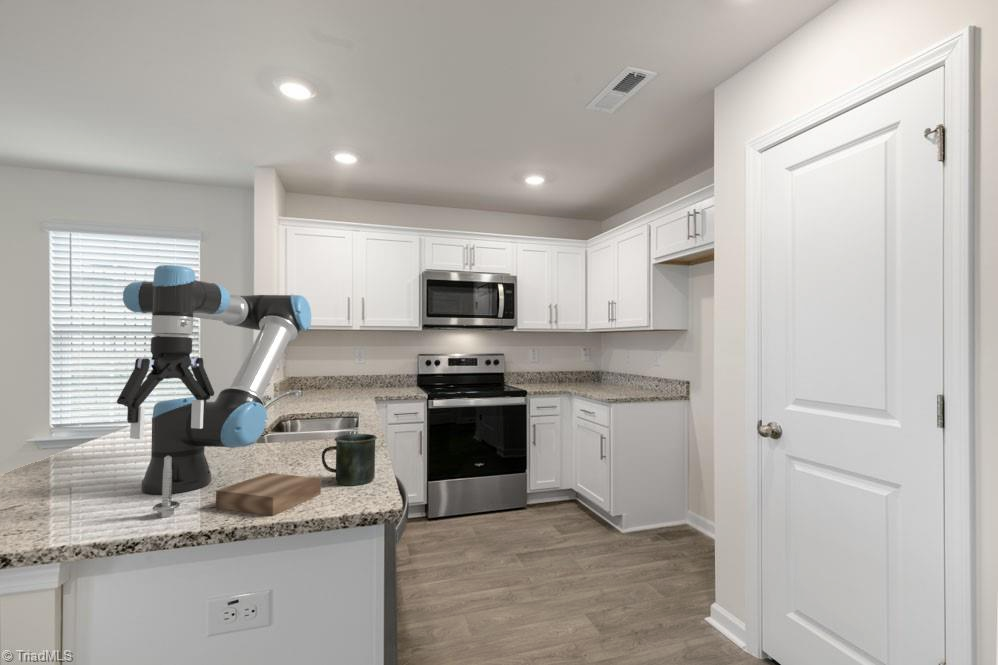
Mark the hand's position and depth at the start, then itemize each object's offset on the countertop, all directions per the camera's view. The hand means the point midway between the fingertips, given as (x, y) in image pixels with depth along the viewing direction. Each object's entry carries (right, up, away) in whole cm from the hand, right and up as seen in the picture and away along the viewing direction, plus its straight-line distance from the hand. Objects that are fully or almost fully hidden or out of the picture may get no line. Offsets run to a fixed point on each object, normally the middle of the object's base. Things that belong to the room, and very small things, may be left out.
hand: (168, 433), depth 102 cm
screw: (0, -18, 0) cm, 18 cm away
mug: (+31, -19, +27) cm, 45 cm away
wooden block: (+18, -18, +10) cm, 27 cm away
